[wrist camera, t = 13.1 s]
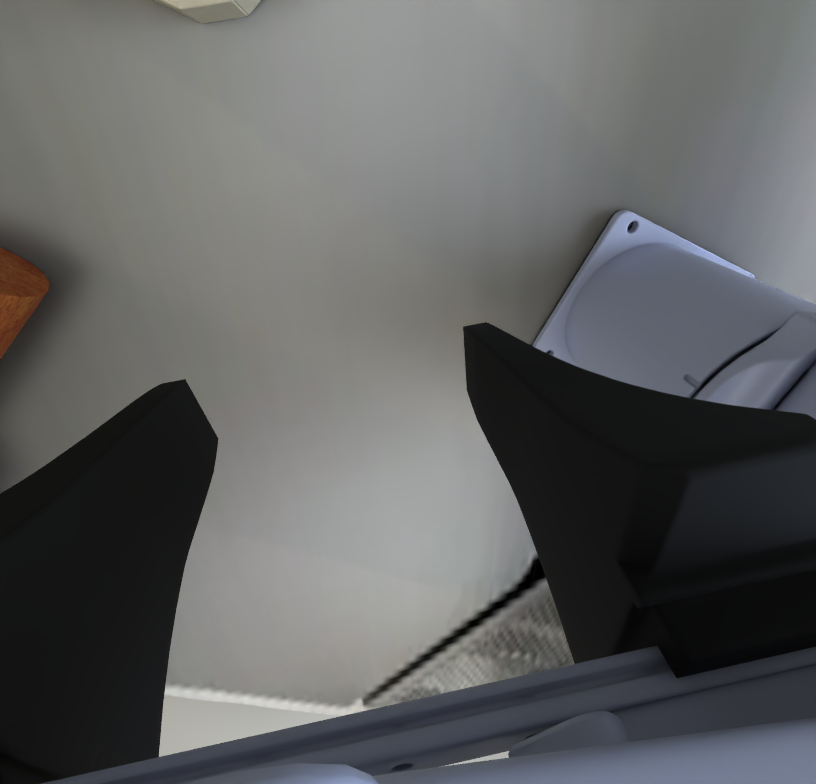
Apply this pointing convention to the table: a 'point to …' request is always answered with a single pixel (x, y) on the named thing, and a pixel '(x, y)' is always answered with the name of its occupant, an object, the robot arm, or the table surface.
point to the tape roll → (211, 9)
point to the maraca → (18, 295)
